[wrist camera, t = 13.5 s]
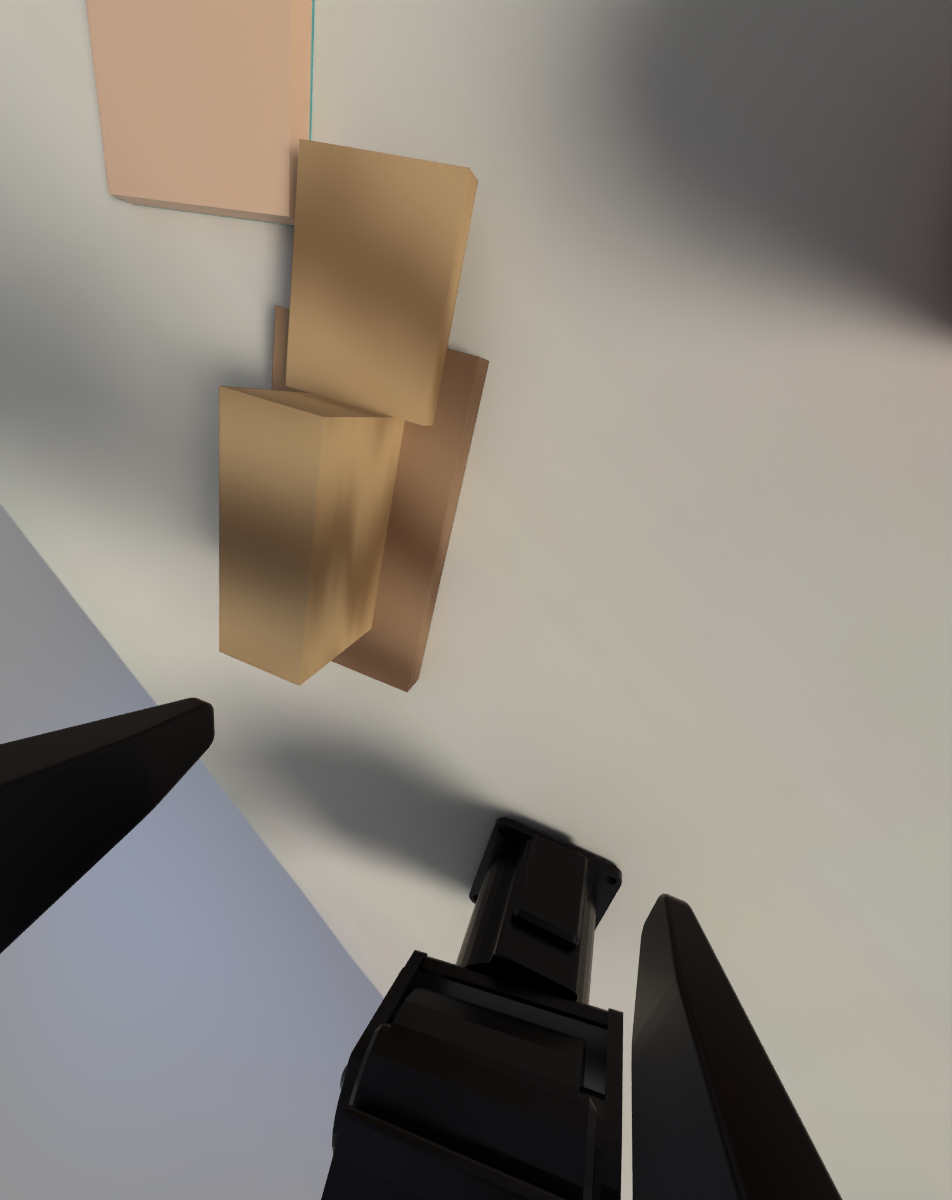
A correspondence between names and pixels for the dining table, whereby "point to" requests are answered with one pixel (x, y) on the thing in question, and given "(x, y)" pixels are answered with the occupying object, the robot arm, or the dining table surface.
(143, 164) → the tile
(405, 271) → the stepped wooden block
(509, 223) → the dining table surface
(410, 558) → the board
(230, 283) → the dining table surface
